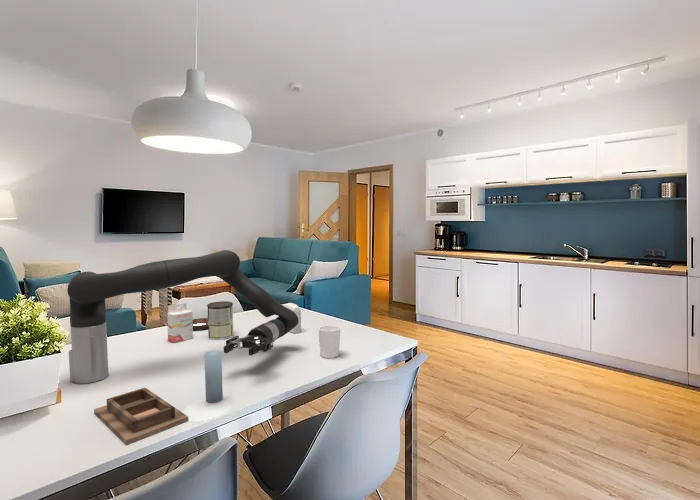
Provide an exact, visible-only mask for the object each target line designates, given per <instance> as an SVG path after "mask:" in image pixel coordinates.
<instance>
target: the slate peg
mask: <svg viewBox="0 0 700 500" xmlns="http://www.w3.org/2000/svg"><path fill="white" fill-rule="evenodd" d="M222 354H223V353H222V350H218V349H217V350H216V349H215V350H209V351H205V352H204V355H203V356H204V380H205V382H204V385H205V401H206V402H207V403H209V404H212V403H213V404H215V403H219V402H221V401H222V400H223V399H224V395H223V391H224V390H223V389H224V388H223V361H222V360H223V359H222V356H223V355H222Z"/></svg>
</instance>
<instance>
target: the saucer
mask: <svg viewBox="0 0 700 500" xmlns="http://www.w3.org/2000/svg"><path fill="white" fill-rule="evenodd" d="M197 323H206V325H202V326H193V331H203V330H202V329H204V330H208V317H203V318H194V319H193V324H197Z"/></svg>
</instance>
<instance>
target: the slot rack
mask: <svg viewBox="0 0 700 500" xmlns="http://www.w3.org/2000/svg"><path fill="white" fill-rule="evenodd" d="M93 413H94V415H96V416H97V417H98V418H99V419H100V420H101V421H102V422H103V423H104V424H105V425H106V427H108V429H110V430H111V432H113V433H114V434H115V435H116V436H117V437H118V438H119V439H120V440H121V441H122V442H123V443H124V444H125V445H126V446H128V445H130V444H134V443H135V442H138V441H140V440H143V439H146V438H148V437H151V436H153V435H155V434H158V433H160V432H163V431H165V430H169V429H170V428H173V427H176V426H178V425H181V424H183V423H186V422H188V421H190V420H189V416H188V415H186V414H185V413H184V412H182V411H181V410H180V409H178V408H177V407H175V406H173V405H172V404H171V403H169V402H168V401H166V400H165V399H163V398H162V397H160V396H158V395H157V394H156V393H154V392H153V391H151V390H150V389H148V388H147V387H142V388H138V389H134V390H131V391H128V392H125V393H122V394H119V395H115V396H112V397H109V398H106V405H103V406H101V407H97V408H94V409H93Z"/></svg>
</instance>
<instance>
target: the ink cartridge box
mask: <svg viewBox="0 0 700 500" xmlns="http://www.w3.org/2000/svg"><path fill="white" fill-rule="evenodd" d="M177 307H178V308H177ZM187 307H188V306H187V302H184V303H177V304H171V305H170V304H169V305H168V306H167V313H166V316H167V319H166V320H167V341H168V342H170V343H172V344H175V343H179V342H180V341H181V342H183V341H184V340H185V341H188V340H193V339H194V336H193V335H194V332H193V331H194V330H193V310H188V309H187ZM185 341H184V342H185Z"/></svg>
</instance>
